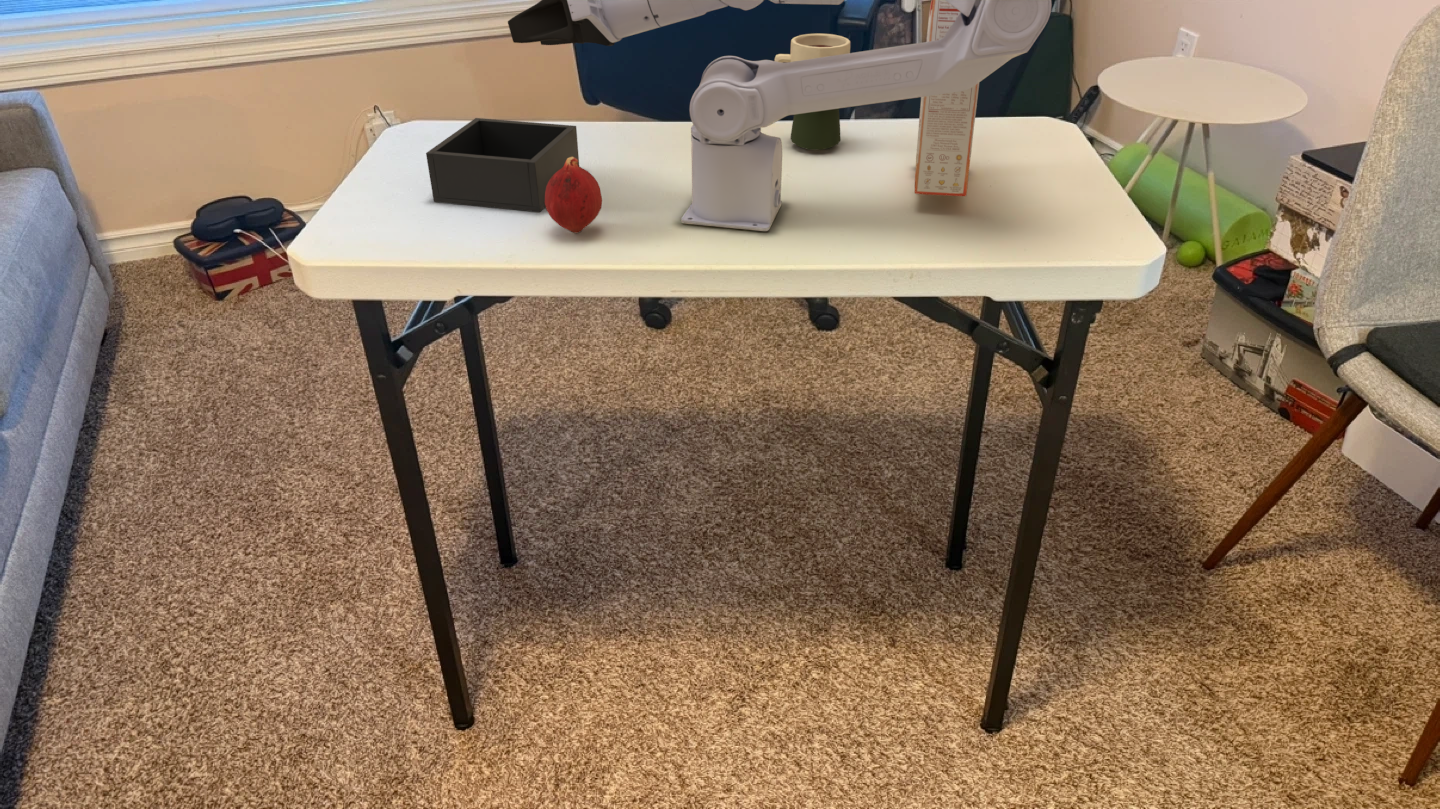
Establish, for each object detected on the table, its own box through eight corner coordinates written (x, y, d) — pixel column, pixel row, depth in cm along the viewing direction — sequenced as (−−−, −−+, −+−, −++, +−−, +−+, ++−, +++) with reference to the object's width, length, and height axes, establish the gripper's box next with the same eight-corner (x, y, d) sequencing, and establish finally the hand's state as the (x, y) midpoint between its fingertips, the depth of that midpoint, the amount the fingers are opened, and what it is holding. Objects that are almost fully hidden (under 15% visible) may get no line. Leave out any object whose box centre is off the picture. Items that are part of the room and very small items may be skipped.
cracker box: (913, 168, 122) (933, -21, 113) (965, 172, 121) (989, -19, 112) (909, 194, 109) (931, -16, 100) (966, 198, 108) (993, -14, 99)
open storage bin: (579, 172, 120) (576, 125, 117) (539, 212, 110) (534, 162, 107) (481, 163, 123) (475, 117, 120) (433, 201, 113) (425, 152, 110)
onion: (594, 246, 103) (588, 170, 98) (540, 241, 104) (532, 166, 99) (610, 224, 108) (606, 150, 103) (558, 219, 109) (552, 146, 104)
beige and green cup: (858, 138, 131) (866, 34, 124) (858, 157, 125) (866, 49, 118) (774, 135, 132) (777, 31, 125) (769, 154, 126) (773, 46, 119)
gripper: (660, -39, 104) (540, -3, 108) (621, -56, 91) (485, -14, 94) (677, 32, 106) (558, 65, 109) (641, 25, 92) (507, 63, 96)
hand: (526, 33), depth 102 cm, fingers open, 7 cm apart
